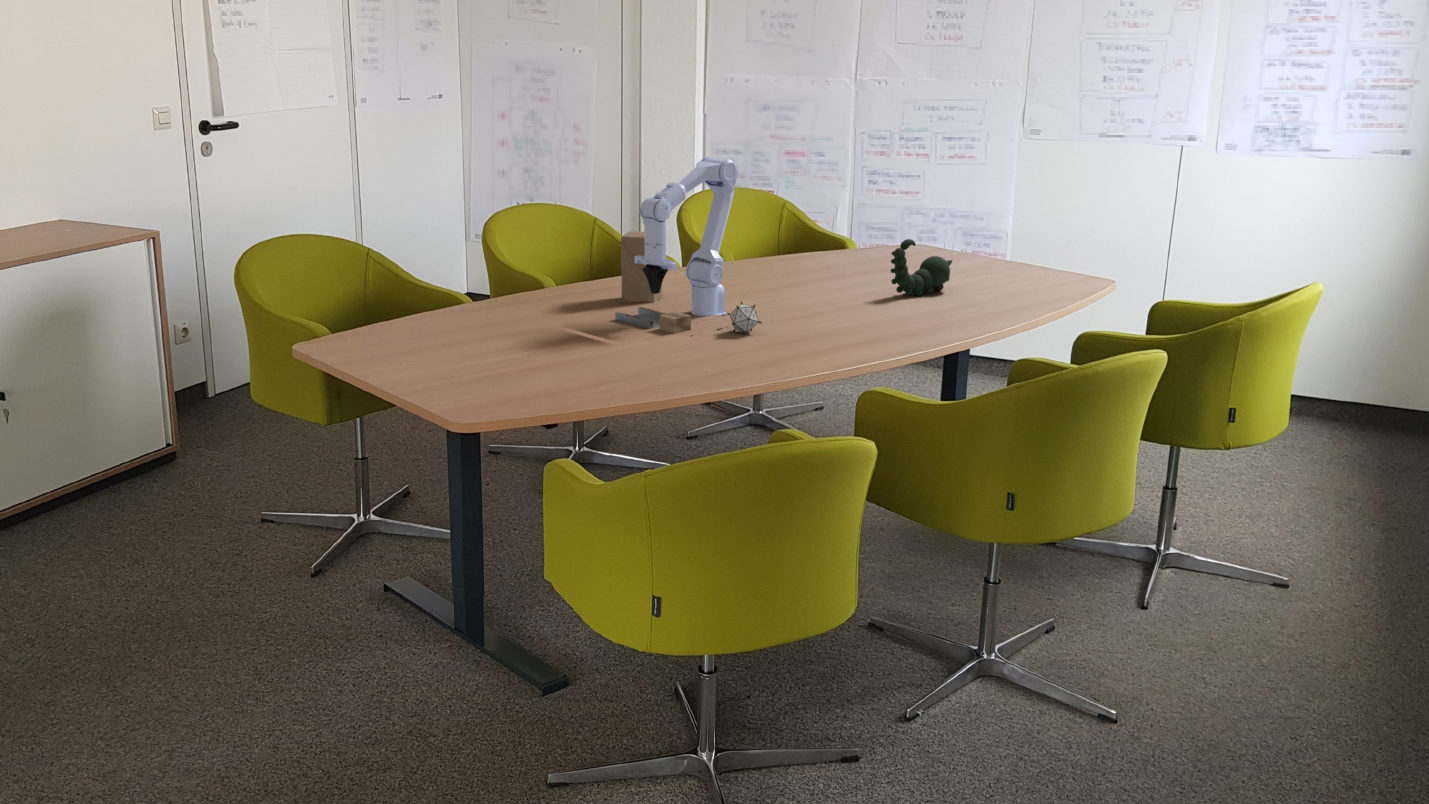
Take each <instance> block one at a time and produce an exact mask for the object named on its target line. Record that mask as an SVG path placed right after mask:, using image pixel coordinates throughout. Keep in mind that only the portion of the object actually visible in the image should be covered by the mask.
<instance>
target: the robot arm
mask: <svg viewBox="0 0 1429 804" xmlns="http://www.w3.org/2000/svg"><path fill="white" fill-rule="evenodd" d="M738 175H739V170H738V168H737V165H736V163H735V162H734V160H731V159H721V158H712V157H708V156H706V157H702V158H701V160H699V161H698V162H697V163H696V166H695V168H693V169H692V170H690V172H689V173H688V174H686V176H685V177H683V178H682V179H681V180H680V181H679V182H678V183H677V182H668V183H667V184H666V186H665V188H663V189H661V191H659V192H656V193H655V194H654V195H653V197H647V198H645V199H644V200H643V201H642V202H641V204H640V208H638V211H639V215H640V217H641V218H642V224H643V226H644V231H643V232H644V243H645V256H640V255H639V256H634V260H635V263H636V264H638V263H639V264H644V265H646V267H645V268H643V272H644V274H645V275H646V278H647V280H648V283H649V287H650V291H651V293H653V294H657V293H660V289H661V285H662V286H663V281H664V278H665V276H666V274H667V273H668V271H670V272H672V271H677V269H678V268H677V262H676V261H672V260H669V259H667V254H666V253H667V248H666V247H667V246H666V245H667V243H666V241H667V236H666V234H667V233H666V230H667V229H666V226H667V225H666V224H667V222H666V221H667V220H668V219H669V217H670V216H671V212H672V211H673V210H674V209H675V208H676V207H677V206H679V205H680V204H681V203H683V202H684V201H685V199H686V198H687V197H686V196H687V193H689V192H691V191H692V190H694V189H696V188H697V187H698V186H700V185H701V184H703V183H704V184H706V185H707V187H709V189H711V191H712V194H713V196H712V201H711V205H710V208H709V211H708V216H707V219H706V224H705V227H704V231H703V236H702V239H701V243H700V246H699V249H697V250H696V251H694V252H693V253H692V254H691V256H690V259H689V261H688V263H687V265H686V267H685V276H686V278H687V279H688V281H689V284H691V314H692V315H694V316H699V317H711V316H714V315H717V316H725V315H728V314H727V313H728V312H726V291H725V288H724V286H723V285H722V284H721V282H722V280H723V277H724V264H725V261H724V258H723V257H722V256H721V255H720V250H721V249H720V248H721V246H722V243H723V238H724V234H725V230H726V226H727V223H728V220H729V219H728V218H729V215H730V210H731V208H732V203H733V199H734V196H735V188H736V187H735V186H736V183H737V179H738Z"/></svg>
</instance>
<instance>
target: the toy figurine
mask: <svg viewBox="0 0 1429 804" xmlns="http://www.w3.org/2000/svg"><path fill="white" fill-rule="evenodd" d="M916 245H917V244H916V242H915V240H913V239H911V238H907V239H905V240H903V241H901V242H900V247H897V248H895V250H893V251H891V255H892V256H893V257H894V258H892V259H890V263H891V264H893V265H894V268H890V273H892V274H895V276H894V278H892V279H891V285H896V284H897V287H896V288H895V289H896V292H897V293H903V292H904V293H905V295H907V296H908V295H909V296H910V295H916V296H917V297H922V295H923V293H924V291H925V293H926V294H932V293H933V292H934V291H935V292H940V291H943V289H944V284H945V283H947V282H949V281H950V275H951V268H950V266H951V265H952V264H953V263H952V262H953V260H951V259H949V260H946V259H944V257H941V256H938V255H933V256H929V257H927V258H925V259H924V260H923V261H922V262H921V264H920V265H919V269H917V270H916V271H914V272H913V273H912V274H910V272H909V267H908V265H907V262H908V261H907V258H906V250H907V249H909V247H911V246H914V247H915V246H916Z"/></svg>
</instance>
